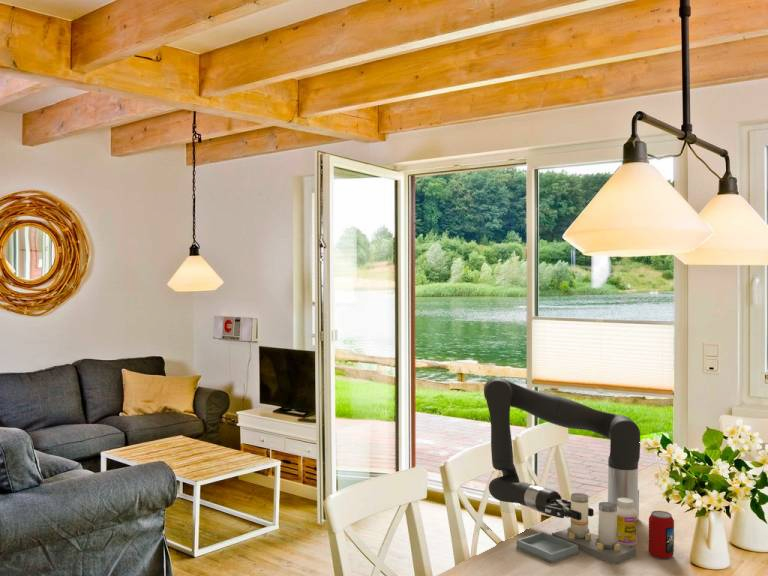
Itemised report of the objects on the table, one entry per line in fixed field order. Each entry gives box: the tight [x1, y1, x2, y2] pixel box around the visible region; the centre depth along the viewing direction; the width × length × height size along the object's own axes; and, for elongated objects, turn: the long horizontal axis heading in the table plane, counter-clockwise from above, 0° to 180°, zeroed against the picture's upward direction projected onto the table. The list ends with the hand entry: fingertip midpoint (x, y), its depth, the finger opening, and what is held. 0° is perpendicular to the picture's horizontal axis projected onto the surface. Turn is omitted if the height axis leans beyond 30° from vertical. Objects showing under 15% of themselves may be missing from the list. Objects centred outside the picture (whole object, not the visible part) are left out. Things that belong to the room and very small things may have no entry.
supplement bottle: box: [617, 498, 638, 547], centre depth 217 cm, size 7×7×13 cm
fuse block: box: [551, 526, 637, 565], centre depth 213 cm, size 10×22×4 cm, turn 36°
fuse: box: [597, 501, 617, 550], centre depth 209 cm, size 5×5×12 cm
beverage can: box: [647, 510, 675, 560], centre depth 207 cm, size 7×7×12 cm
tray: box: [515, 531, 579, 564], centre depth 210 cm, size 11×13×2 cm
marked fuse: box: [570, 492, 589, 539], centre depth 217 cm, size 5×5×12 cm
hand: (586, 514), depth 215 cm, fingers closed on marked fuse, 5 cm apart
